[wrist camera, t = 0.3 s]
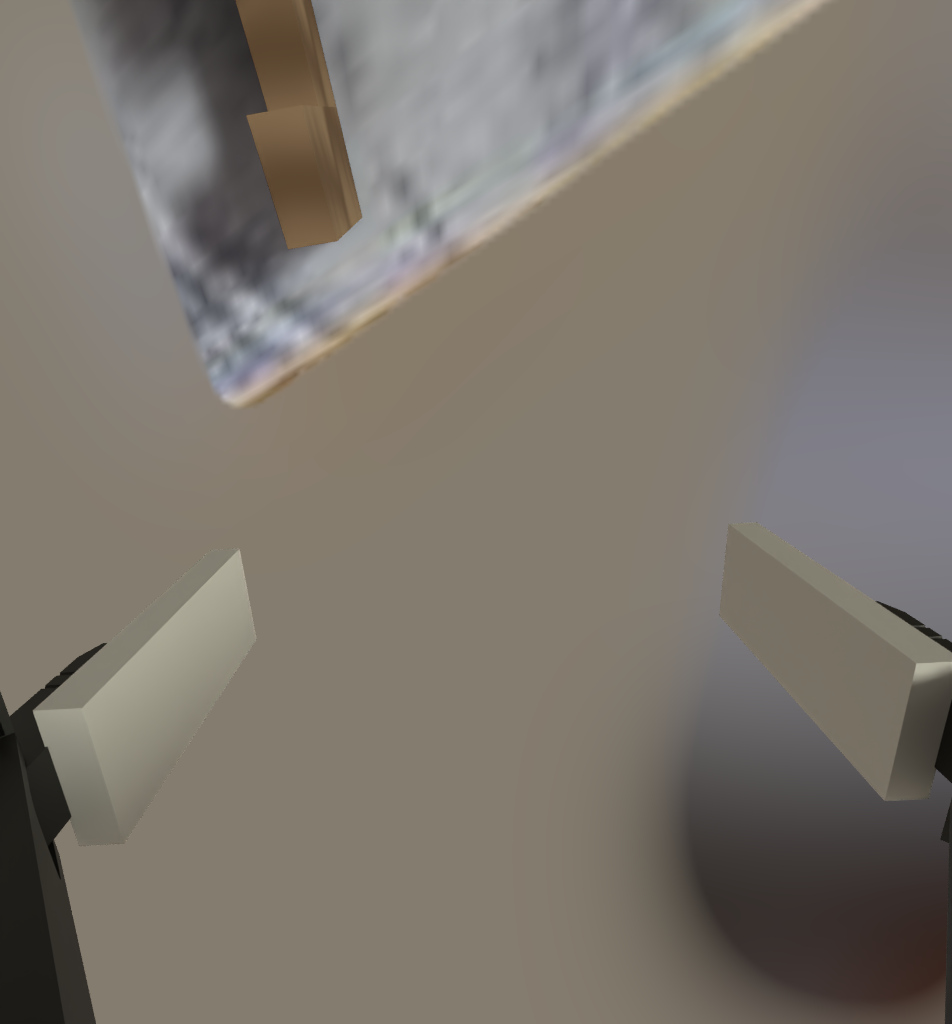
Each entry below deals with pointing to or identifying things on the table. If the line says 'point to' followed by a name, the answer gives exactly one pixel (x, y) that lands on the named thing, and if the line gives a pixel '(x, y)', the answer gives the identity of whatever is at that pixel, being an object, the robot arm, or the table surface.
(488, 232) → the table surface
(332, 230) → the walnut slotted plate
